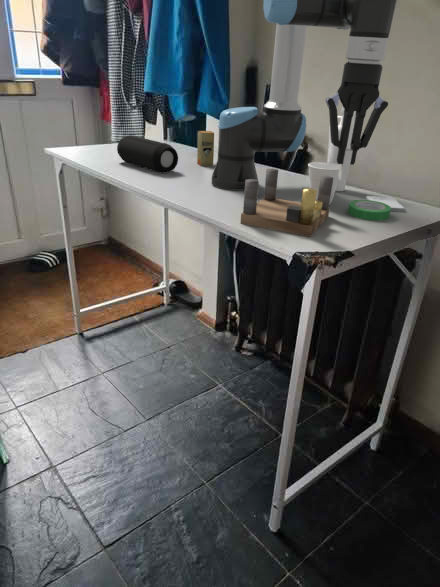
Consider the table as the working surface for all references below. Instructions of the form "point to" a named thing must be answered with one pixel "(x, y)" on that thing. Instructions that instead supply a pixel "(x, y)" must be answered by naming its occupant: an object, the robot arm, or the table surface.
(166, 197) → the table surface
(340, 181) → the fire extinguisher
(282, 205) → the wooden peg board
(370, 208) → the tape roll
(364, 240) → the table surface
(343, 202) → the table surface
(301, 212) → the leg
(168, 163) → the portable speaker
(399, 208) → the external hard drive
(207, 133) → the shoe polish box
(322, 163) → the cup
